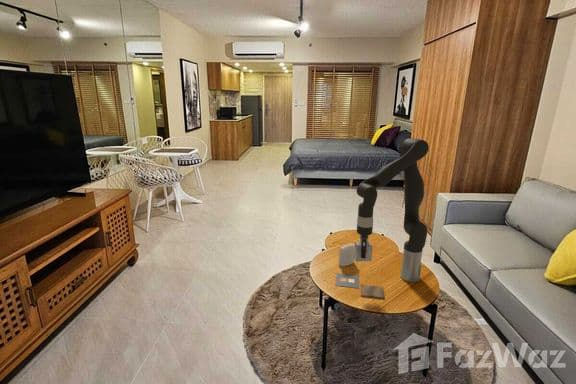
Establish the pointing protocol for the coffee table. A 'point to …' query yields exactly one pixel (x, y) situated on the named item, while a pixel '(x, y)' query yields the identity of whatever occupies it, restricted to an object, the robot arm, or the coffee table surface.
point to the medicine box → (358, 252)
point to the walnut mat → (372, 291)
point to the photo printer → (346, 255)
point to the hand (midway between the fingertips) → (363, 255)
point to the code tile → (347, 280)
